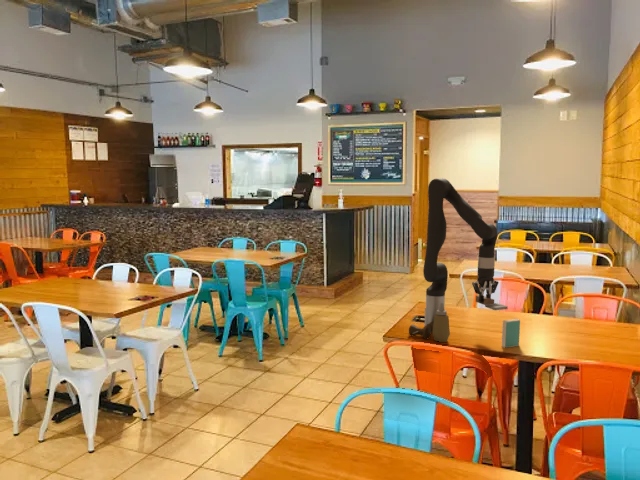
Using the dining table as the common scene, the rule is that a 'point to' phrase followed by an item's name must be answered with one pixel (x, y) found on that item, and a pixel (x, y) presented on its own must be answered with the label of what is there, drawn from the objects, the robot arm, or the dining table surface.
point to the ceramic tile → (510, 333)
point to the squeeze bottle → (441, 325)
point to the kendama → (422, 330)
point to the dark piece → (491, 303)
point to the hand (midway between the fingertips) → (484, 302)
